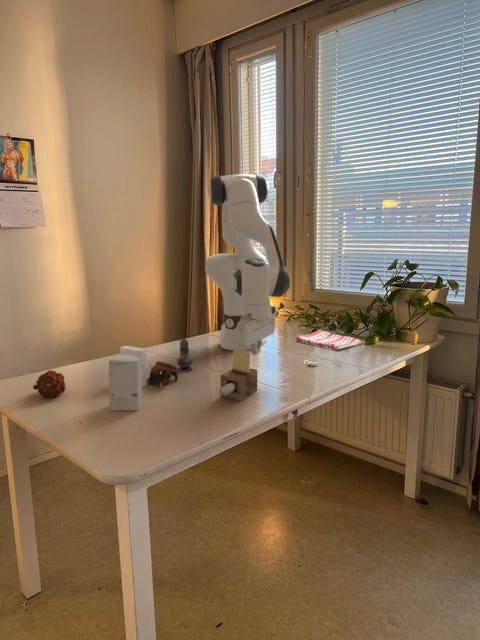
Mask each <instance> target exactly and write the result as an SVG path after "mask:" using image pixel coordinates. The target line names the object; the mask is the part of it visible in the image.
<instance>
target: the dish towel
mask: <svg viewBox="0 0 480 640" xmlns="http://www.w3.org/2000/svg"><path fill="white" fill-rule="evenodd" d="M295 339H296V342H299V343H303V344H306V345H310V346H315V347H320V348H322V347H323V348H322V349H327V350H331V351H342V350H345V349H350V348H354V347H357V346H359V345H361V344H363V342H362V341H361V340H360V339H358V338H355V337H352V336H347V335H346V336H344V335H343V336H342V335H338V334H333V333H331V332H328V331H326V330H322V329H321V328H320V329H317V331H314V332H312V333H310V334H306V335H302V334H301V335H297V336H296V337H295ZM349 347H350V348H349Z"/></svg>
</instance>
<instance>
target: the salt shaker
mask: <svg viewBox="0 0 480 640" xmlns="http://www.w3.org/2000/svg"><path fill="white" fill-rule="evenodd" d="M179 347H180V348H179V349H178V351H179V355H180V356H179V357H178V358H177V359H176V362H177V363H176V364H177V366H178V367H177V371H178V372H182V373H183V372H184V373H185V372H186V373H187V372H191V371H193V368H192V367H191V365H192V364H193V361H194V359H193V358H192V357H190V348H189V341H188V340H187V339H186V337H185V336H184V337H182V339H180V341H179Z"/></svg>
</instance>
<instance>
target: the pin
mask: <svg viewBox="0 0 480 640" xmlns="http://www.w3.org/2000/svg"><path fill="white" fill-rule="evenodd" d="M236 389H237V382H234V381H233V382H231V383H229V384H227V385H225V386H223V387H222V388H221V387H220V388H219V390H218V393H219V395H220V397H221V396H226V395H228V394H229V393H231V392H233V391H234V390H236Z"/></svg>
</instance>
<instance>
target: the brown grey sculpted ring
mask: <svg viewBox="0 0 480 640" xmlns="http://www.w3.org/2000/svg"><path fill="white" fill-rule="evenodd" d="M177 371H178V367H176V366H174V365H172V364H171V363H167V362H164V361H156V362H155V365H153V367H151V369H150V373H149V377H148V386H149V385H150V386H152V387H155V388H161V386H160V385H161V384H162V385H163V386H168V385H169V383H170V380H171V377H172V376H173V377H174V381H175V382H176V381H178V379H179V378H178V377H179V375H178V372H177Z"/></svg>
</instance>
